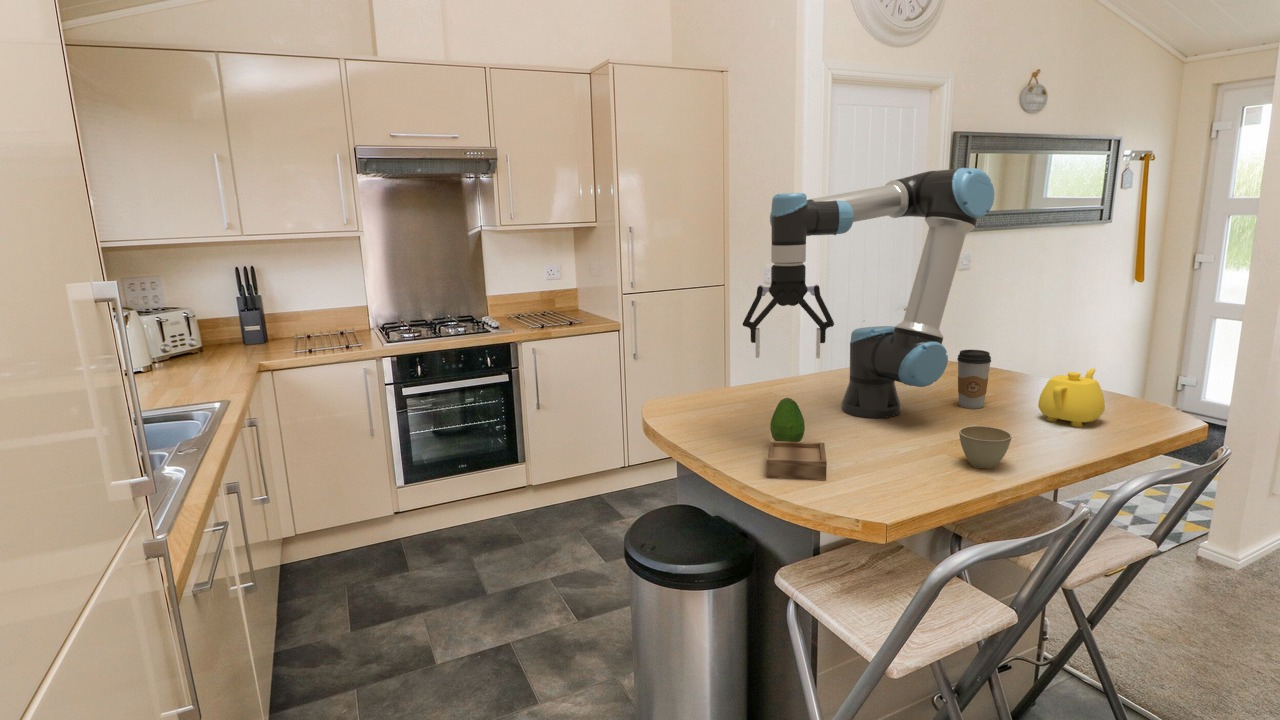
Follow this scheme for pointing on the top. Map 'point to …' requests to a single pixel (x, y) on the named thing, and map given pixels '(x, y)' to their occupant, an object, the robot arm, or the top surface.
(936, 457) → the top surface
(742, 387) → the top surface
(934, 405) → the top surface
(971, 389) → the coffee cup
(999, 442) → the grey bowl
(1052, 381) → the teapot
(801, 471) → the base
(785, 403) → the avocado
